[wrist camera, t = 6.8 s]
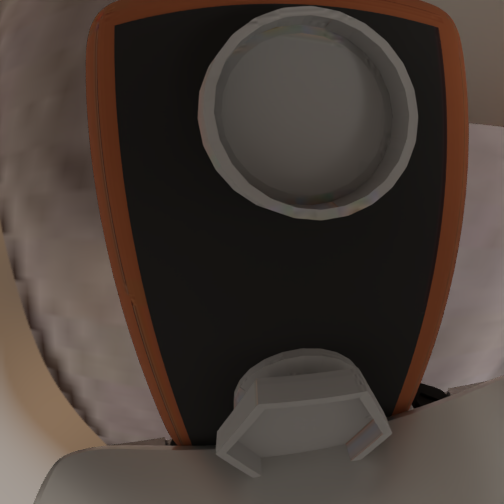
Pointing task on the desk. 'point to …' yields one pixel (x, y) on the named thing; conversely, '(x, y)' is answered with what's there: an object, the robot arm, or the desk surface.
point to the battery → (279, 210)
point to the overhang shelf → (481, 55)
